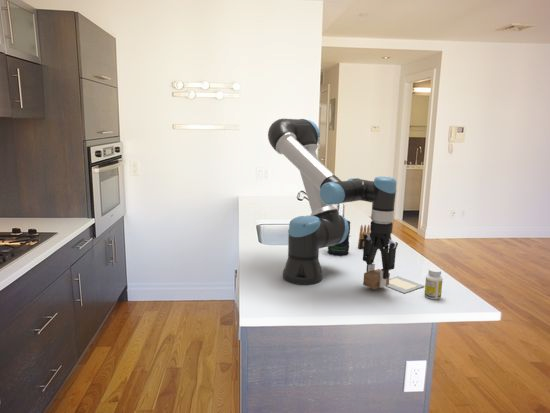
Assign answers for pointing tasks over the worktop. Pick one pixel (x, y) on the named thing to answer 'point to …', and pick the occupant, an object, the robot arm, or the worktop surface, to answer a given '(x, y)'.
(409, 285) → the mat
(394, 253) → the robot arm
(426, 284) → the supplement bottle
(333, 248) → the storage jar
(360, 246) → the ammunition clip
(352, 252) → the worktop surface
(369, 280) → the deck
